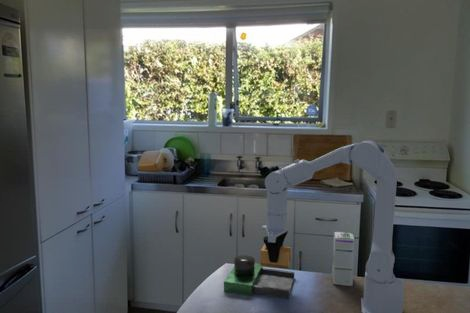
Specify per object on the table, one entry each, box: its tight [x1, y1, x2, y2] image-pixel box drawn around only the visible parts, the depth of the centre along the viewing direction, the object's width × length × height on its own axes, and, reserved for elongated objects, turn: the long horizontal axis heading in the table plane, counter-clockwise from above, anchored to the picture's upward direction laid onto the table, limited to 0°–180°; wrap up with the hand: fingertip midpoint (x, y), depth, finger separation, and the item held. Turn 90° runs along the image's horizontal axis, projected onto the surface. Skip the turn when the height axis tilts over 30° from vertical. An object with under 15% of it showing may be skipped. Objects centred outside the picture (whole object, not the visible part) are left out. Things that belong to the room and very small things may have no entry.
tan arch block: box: [259, 243, 292, 270], centre depth 110 cm, size 8×5×4 cm, turn 74°
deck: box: [223, 255, 295, 300], centre depth 112 cm, size 18×15×7 cm
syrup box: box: [331, 231, 355, 287], centre depth 114 cm, size 6×6×14 cm
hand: (275, 258), depth 110 cm, fingers closed on tan arch block, 5 cm apart
